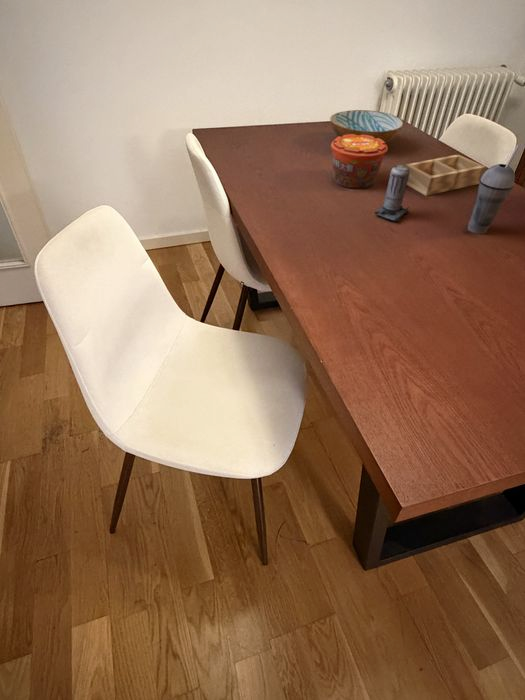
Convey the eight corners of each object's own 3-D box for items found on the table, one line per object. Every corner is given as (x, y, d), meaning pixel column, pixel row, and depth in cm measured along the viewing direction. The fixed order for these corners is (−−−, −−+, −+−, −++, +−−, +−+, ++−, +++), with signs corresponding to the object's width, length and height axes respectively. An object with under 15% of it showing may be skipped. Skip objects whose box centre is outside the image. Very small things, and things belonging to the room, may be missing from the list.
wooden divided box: (452, 170, 127) (458, 154, 124) (479, 183, 120) (485, 166, 117) (400, 181, 121) (405, 164, 117) (425, 195, 114) (431, 178, 110)
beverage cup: (466, 219, 104) (499, 136, 90) (495, 228, 101) (534, 142, 87) (457, 230, 100) (490, 144, 85) (488, 239, 97) (527, 152, 82)
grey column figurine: (380, 205, 109) (391, 159, 101) (409, 211, 107) (422, 164, 98) (371, 219, 103) (382, 171, 95) (401, 226, 101) (415, 178, 93)
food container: (345, 195, 113) (351, 155, 106) (317, 174, 124) (321, 137, 116) (391, 186, 118) (400, 147, 111) (360, 167, 128) (367, 130, 121)
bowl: (314, 147, 141) (316, 122, 135) (346, 129, 156) (349, 106, 150) (381, 163, 131) (387, 136, 125) (408, 142, 146) (414, 117, 140)
